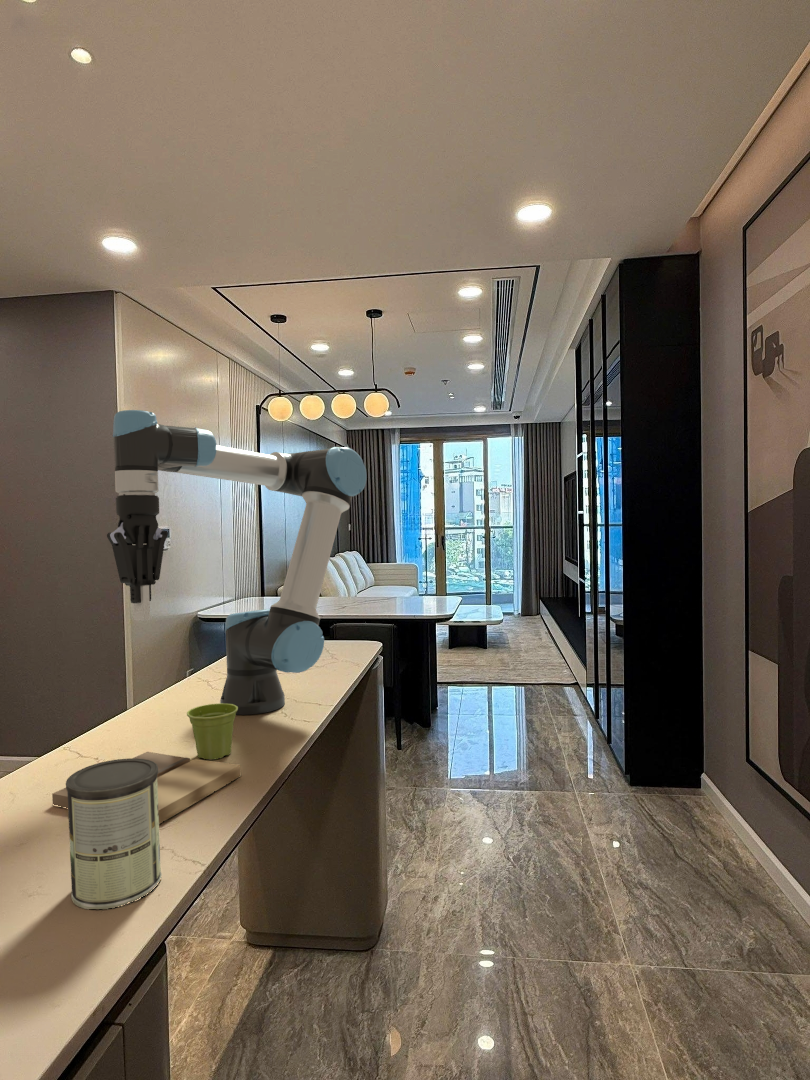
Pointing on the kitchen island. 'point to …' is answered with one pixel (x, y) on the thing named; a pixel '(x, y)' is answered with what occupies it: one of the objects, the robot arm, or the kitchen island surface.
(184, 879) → the kitchen island surface
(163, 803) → the oak plank
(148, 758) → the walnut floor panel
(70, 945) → the kitchen island surface
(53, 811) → the kitchen island surface
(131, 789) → the coffee can
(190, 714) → the plant pot
